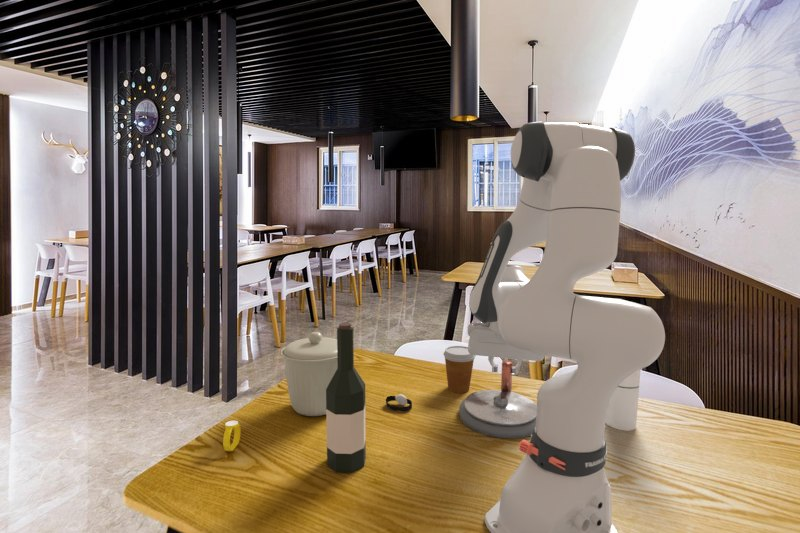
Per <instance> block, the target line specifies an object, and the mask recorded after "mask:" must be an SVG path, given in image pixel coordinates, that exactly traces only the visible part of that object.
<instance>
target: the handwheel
mask: <svg viewBox="0 0 800 533" xmlns="http://www.w3.org/2000/svg"><path fill="white" fill-rule="evenodd" d="M512 366H513V362H512V361H510V360H503V361H501V379H500V380H501V381H500V382H501V383H500V384H501V385H500V389H483V390H477V391H475V392H473V393H470V394H469V395H467V396H466V397H465V398H464V399H465V410H466V412H467V413H468V414H469V415H470V416H472V417H473V418H475V419H477V420H479V421H481V422H484V423H488V424H492V425H497V426H507V427H512V426H522V425H526V424H529V423H531V422H533V421H534V420H535V419H536V414H537V403H536V402H534V401H533V400H532V399H531V398H529V397H527V396H525V395H522V394H519V393H517V392H514V391H512V386H513V374H512Z"/></svg>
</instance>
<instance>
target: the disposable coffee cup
mask: <svg viewBox="0 0 800 533" xmlns="http://www.w3.org/2000/svg"><path fill="white" fill-rule="evenodd" d="M443 356H444V361H445V372H446V380H447V381H446V382H447V388H448V390H449V391H450V392H453V393H458V394H459V393H467V392H468V391H470V386H471V379H472V374H473V367H474V360H475V358H476V356H477V355H471V354H470V353H469V352H468V346H463V345H451V346H448V347H446V348H445V349H444V352H443Z"/></svg>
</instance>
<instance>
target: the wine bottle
mask: <svg viewBox="0 0 800 533" xmlns="http://www.w3.org/2000/svg"><path fill="white" fill-rule="evenodd" d="M336 339H337V363H338V369H337V370H336V372H335V374H334V376H333V377H332V379H331V381H330V383H329V385H328V387H327V389H326V415H325V416H326V462H327V464H326V465H327V467H328V468H330V469H331V470H332V471H334V472H335V473H336V474H352V473H354V472H356V471H359V470H360V469H362V468H364V467H365V465H366V464H365V463H366V455H367V454H366V452H367V449H366V446H367V445H366V442H367V441H366V439H367V438H366V437H367V436H366V433H367V432H366V383H365V381H364V380H363V378H362V377H361V376H360V374H359V372H358V371H357V369H356V368H355V363H354V362H355V361H354V359H355V358H354V357H355V356H354V348H355V347H354V327H353V326H352V323H351V322H350V323H349V322H340V323H339V325H338V327H337V328H336Z"/></svg>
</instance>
